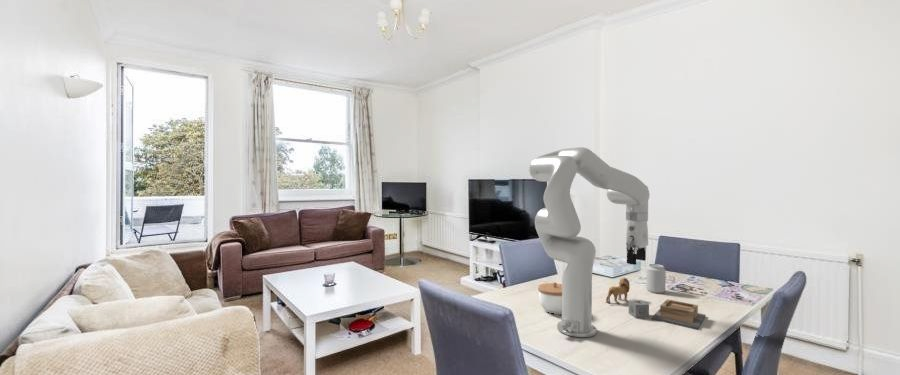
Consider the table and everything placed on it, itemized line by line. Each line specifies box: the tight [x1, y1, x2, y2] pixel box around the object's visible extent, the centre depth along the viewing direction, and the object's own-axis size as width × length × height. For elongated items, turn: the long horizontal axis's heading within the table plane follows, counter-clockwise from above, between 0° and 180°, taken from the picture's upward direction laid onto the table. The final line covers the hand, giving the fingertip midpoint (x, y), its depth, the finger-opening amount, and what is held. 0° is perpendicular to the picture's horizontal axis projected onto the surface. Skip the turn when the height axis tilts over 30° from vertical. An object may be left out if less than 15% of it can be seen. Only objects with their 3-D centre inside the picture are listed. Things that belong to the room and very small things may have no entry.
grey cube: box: [628, 299, 650, 319], centre depth 139 cm, size 5×5×5 cm
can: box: [645, 263, 666, 294], centre depth 169 cm, size 8×8×12 cm
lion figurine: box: [605, 277, 631, 305], centre depth 155 cm, size 15×5×9 cm, turn 130°
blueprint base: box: [651, 299, 706, 330], centre depth 137 cm, size 16×14×5 cm
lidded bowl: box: [537, 281, 562, 315], centre depth 144 cm, size 13×13×11 cm
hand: (636, 261), depth 142 cm, fingers open, 9 cm apart
